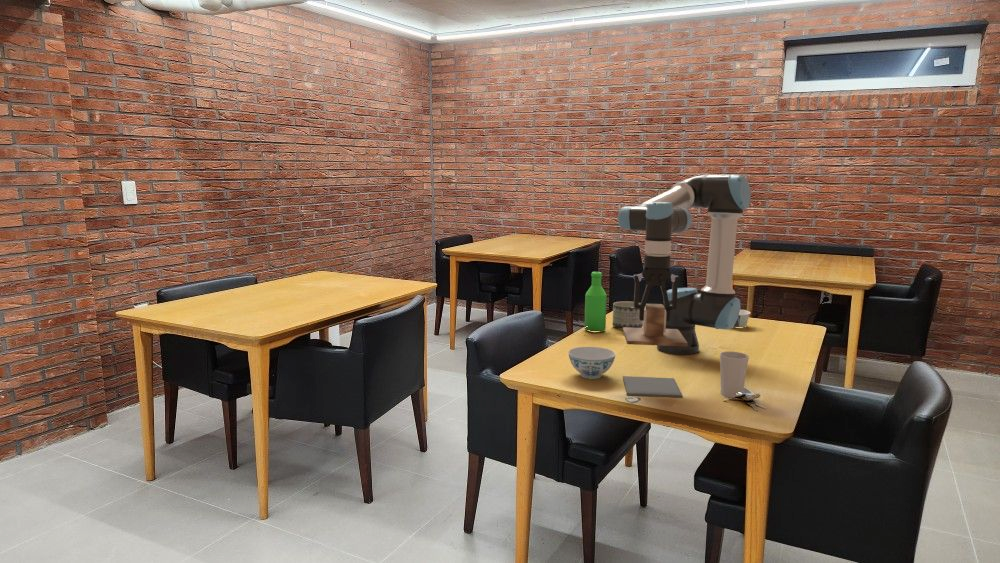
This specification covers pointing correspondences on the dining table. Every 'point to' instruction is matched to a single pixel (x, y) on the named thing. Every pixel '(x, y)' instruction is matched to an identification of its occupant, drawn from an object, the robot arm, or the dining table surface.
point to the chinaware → (591, 361)
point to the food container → (742, 319)
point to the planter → (626, 315)
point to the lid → (654, 330)
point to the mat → (651, 386)
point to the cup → (733, 372)
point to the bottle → (595, 305)
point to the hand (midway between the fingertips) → (653, 331)
